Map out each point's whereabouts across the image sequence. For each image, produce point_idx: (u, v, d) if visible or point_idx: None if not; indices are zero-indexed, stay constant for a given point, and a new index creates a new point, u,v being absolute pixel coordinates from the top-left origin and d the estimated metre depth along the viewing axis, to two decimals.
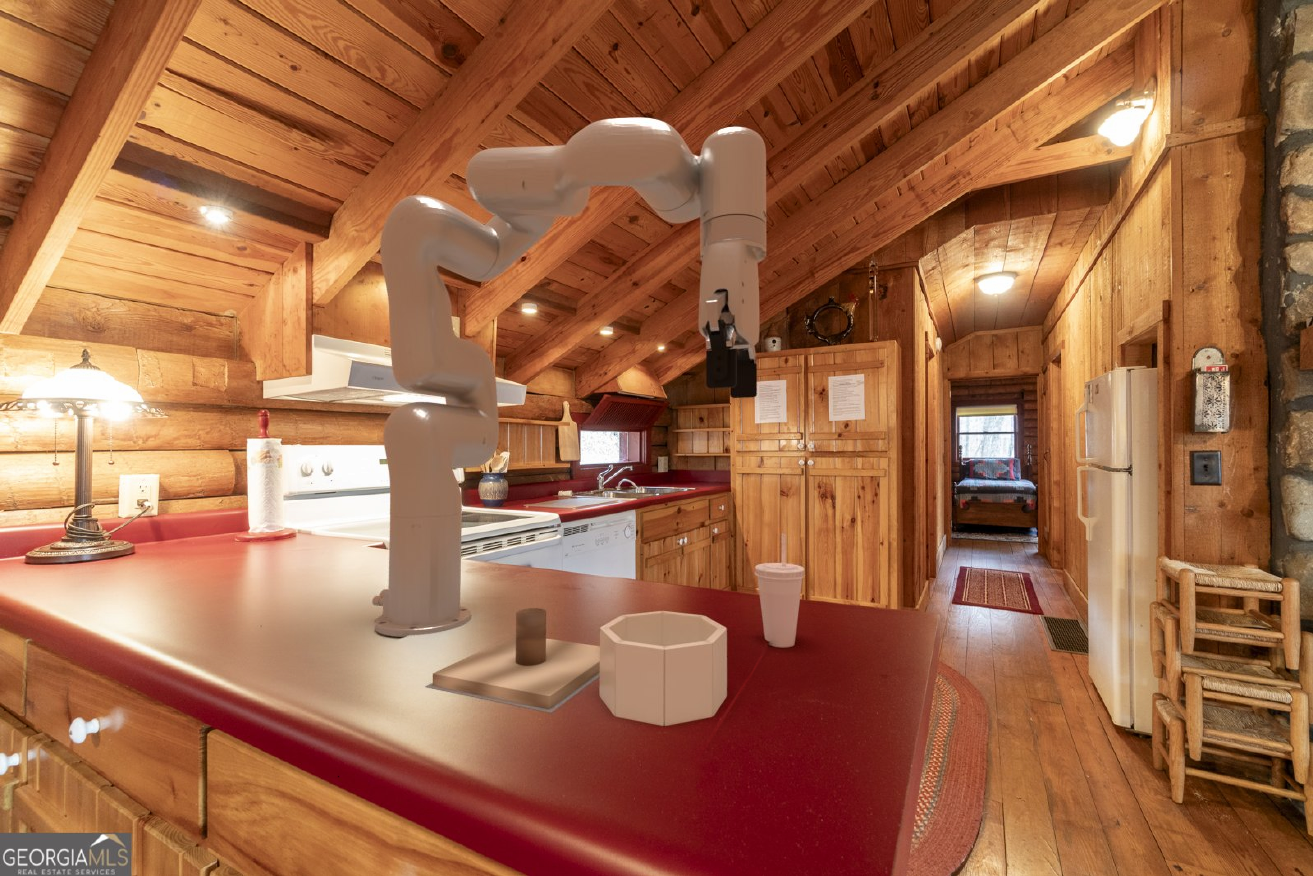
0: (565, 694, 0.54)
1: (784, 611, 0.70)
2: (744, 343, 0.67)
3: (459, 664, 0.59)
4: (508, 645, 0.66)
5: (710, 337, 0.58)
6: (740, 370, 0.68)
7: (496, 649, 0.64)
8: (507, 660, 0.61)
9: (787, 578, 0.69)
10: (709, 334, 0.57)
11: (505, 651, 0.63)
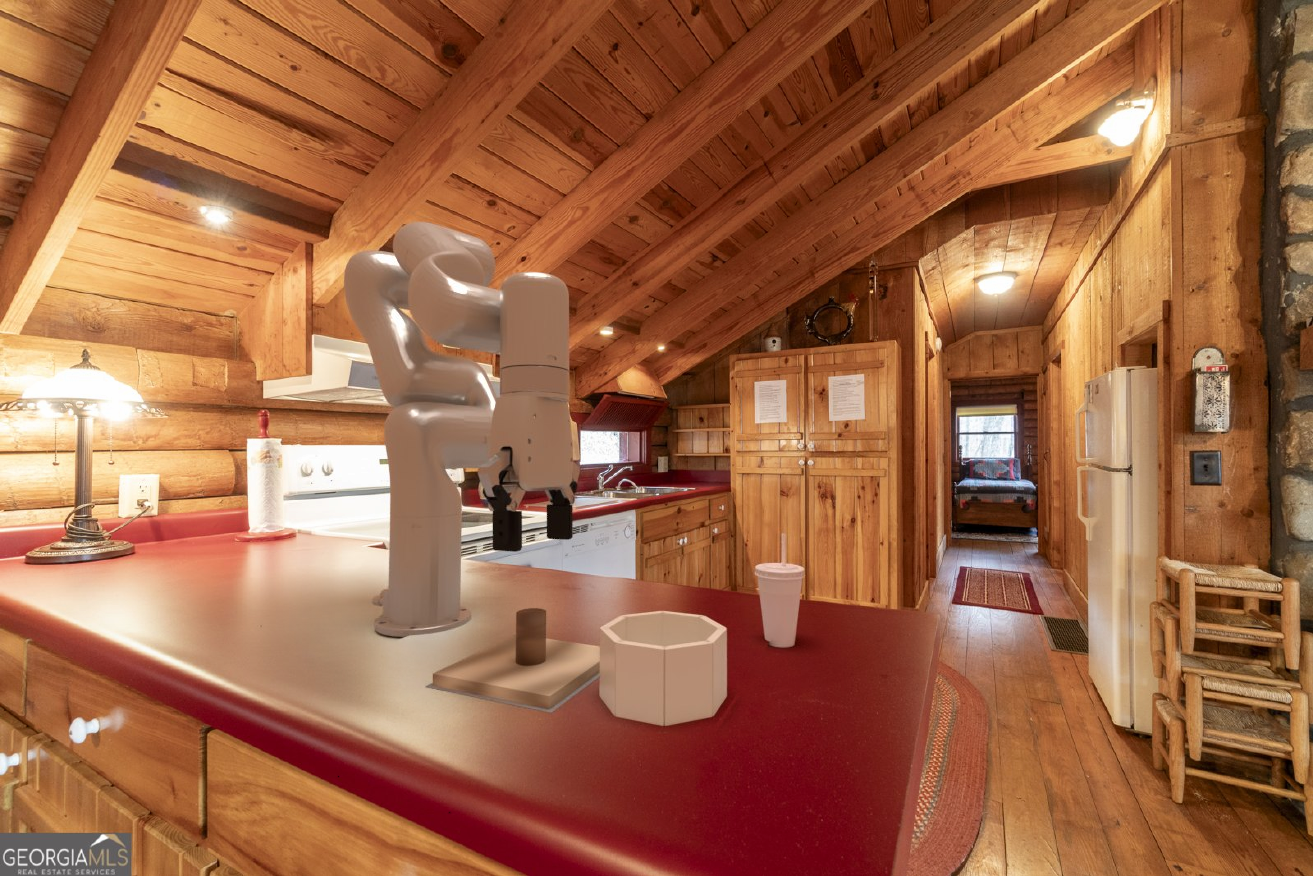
0: (565, 694, 0.54)
1: (784, 611, 0.70)
2: None
3: (459, 664, 0.59)
4: (508, 645, 0.66)
5: (489, 501, 0.55)
6: (555, 511, 0.65)
7: (496, 649, 0.64)
8: (507, 660, 0.61)
9: (787, 578, 0.69)
10: (487, 499, 0.55)
11: (505, 651, 0.63)
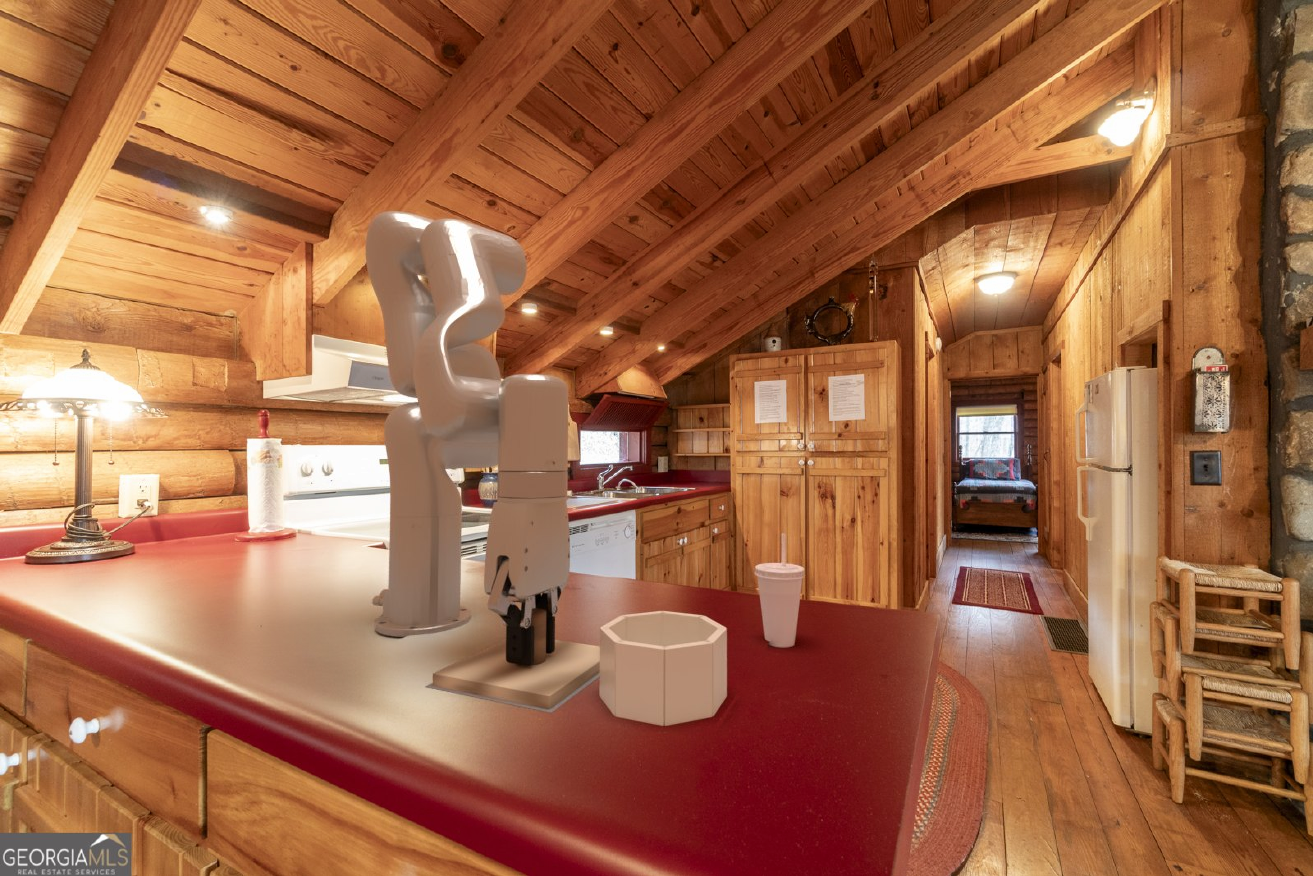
0: (565, 694, 0.54)
1: (784, 611, 0.70)
2: None
3: (459, 664, 0.59)
4: None
5: (504, 619, 0.57)
6: None
7: (496, 649, 0.64)
8: None
9: (787, 578, 0.69)
10: (502, 617, 0.57)
11: (505, 651, 0.63)
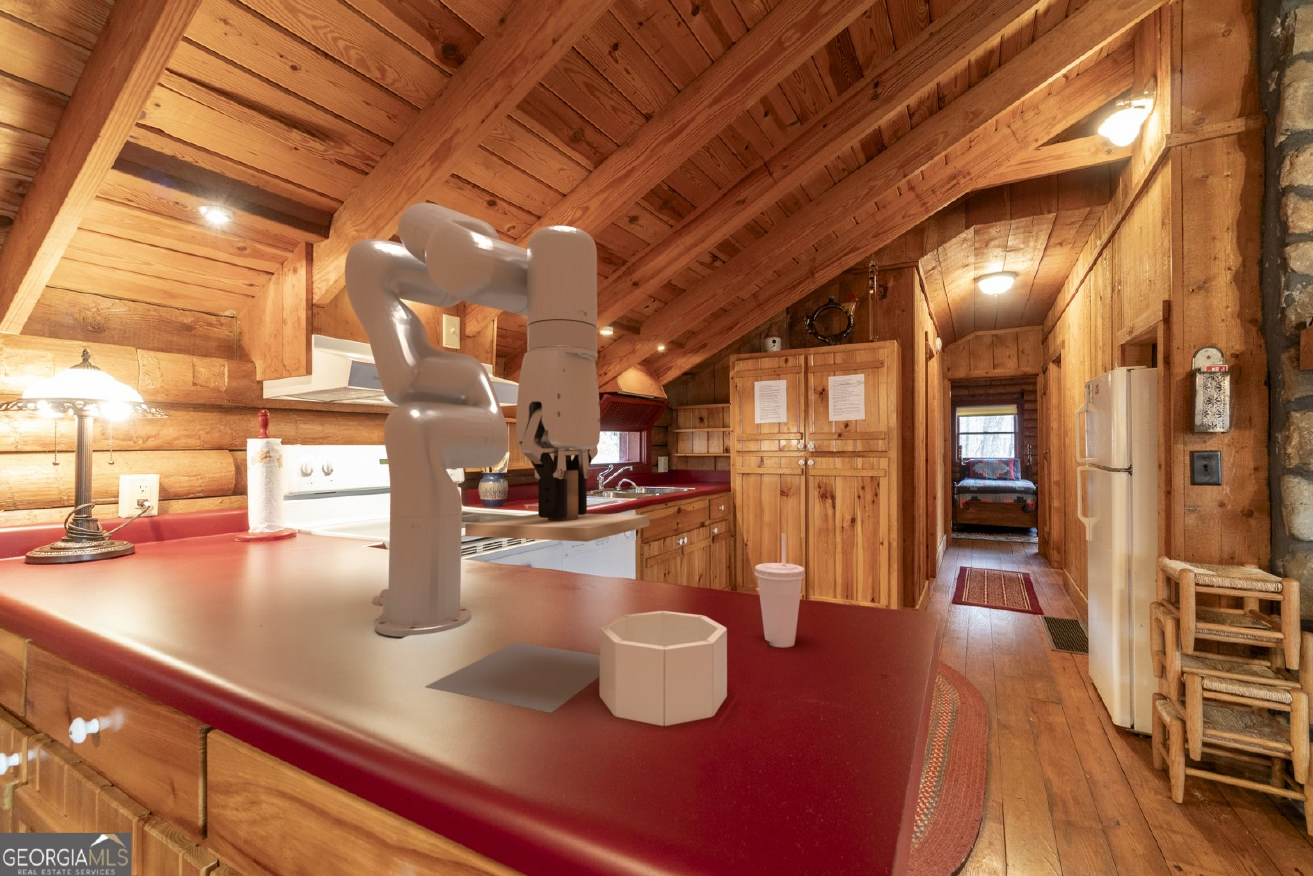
0: (602, 534, 0.53)
1: (784, 611, 0.70)
2: (576, 449, 0.62)
3: (491, 521, 0.58)
4: (538, 515, 0.64)
5: (536, 469, 0.56)
6: None
7: None
8: (539, 519, 0.59)
9: (787, 578, 0.69)
10: (535, 467, 0.56)
11: (536, 517, 0.62)
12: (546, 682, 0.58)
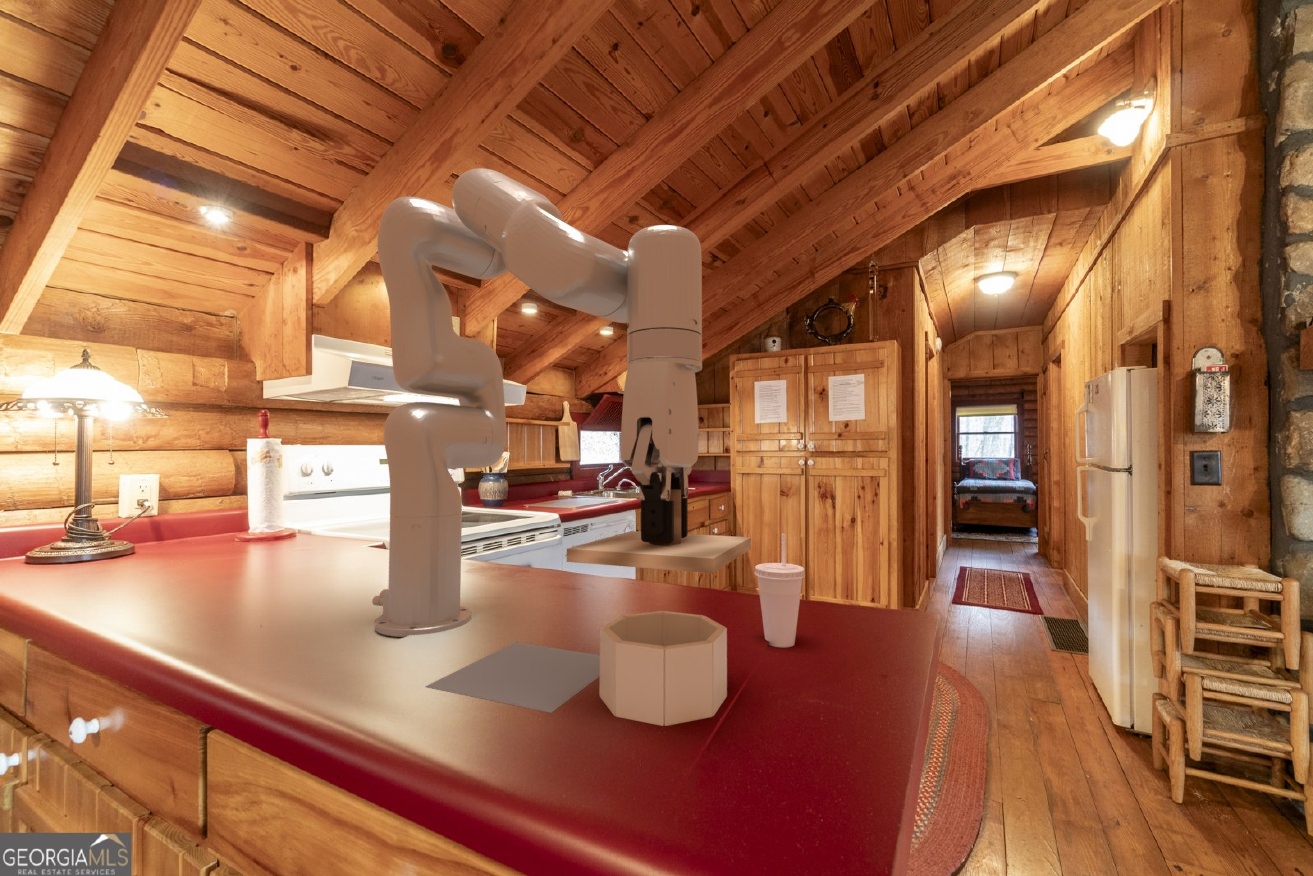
0: (722, 563, 0.49)
1: (784, 611, 0.70)
2: (675, 467, 0.57)
3: (589, 544, 0.54)
4: (629, 536, 0.60)
5: (643, 490, 0.52)
6: None
7: (619, 537, 0.59)
8: (639, 542, 0.55)
9: (787, 578, 0.69)
10: (641, 488, 0.52)
11: (630, 538, 0.58)
12: (546, 682, 0.58)
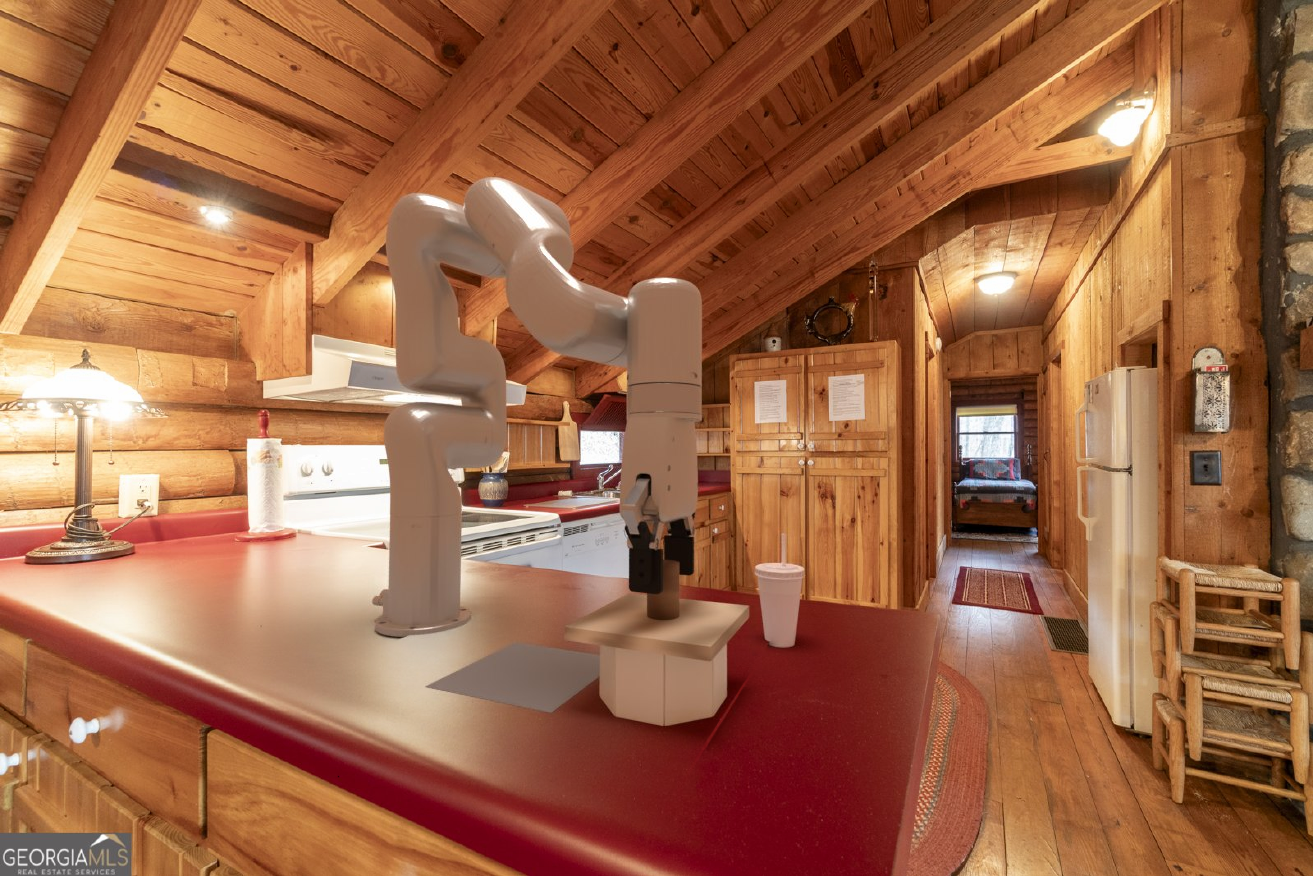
0: (719, 647, 0.48)
1: (784, 611, 0.70)
2: None
3: (587, 619, 0.54)
4: (627, 602, 0.60)
5: (630, 539, 0.50)
6: (675, 543, 0.59)
7: (617, 605, 0.59)
8: (637, 615, 0.55)
9: (787, 578, 0.69)
10: (629, 537, 0.49)
11: (628, 608, 0.58)
12: (546, 682, 0.58)
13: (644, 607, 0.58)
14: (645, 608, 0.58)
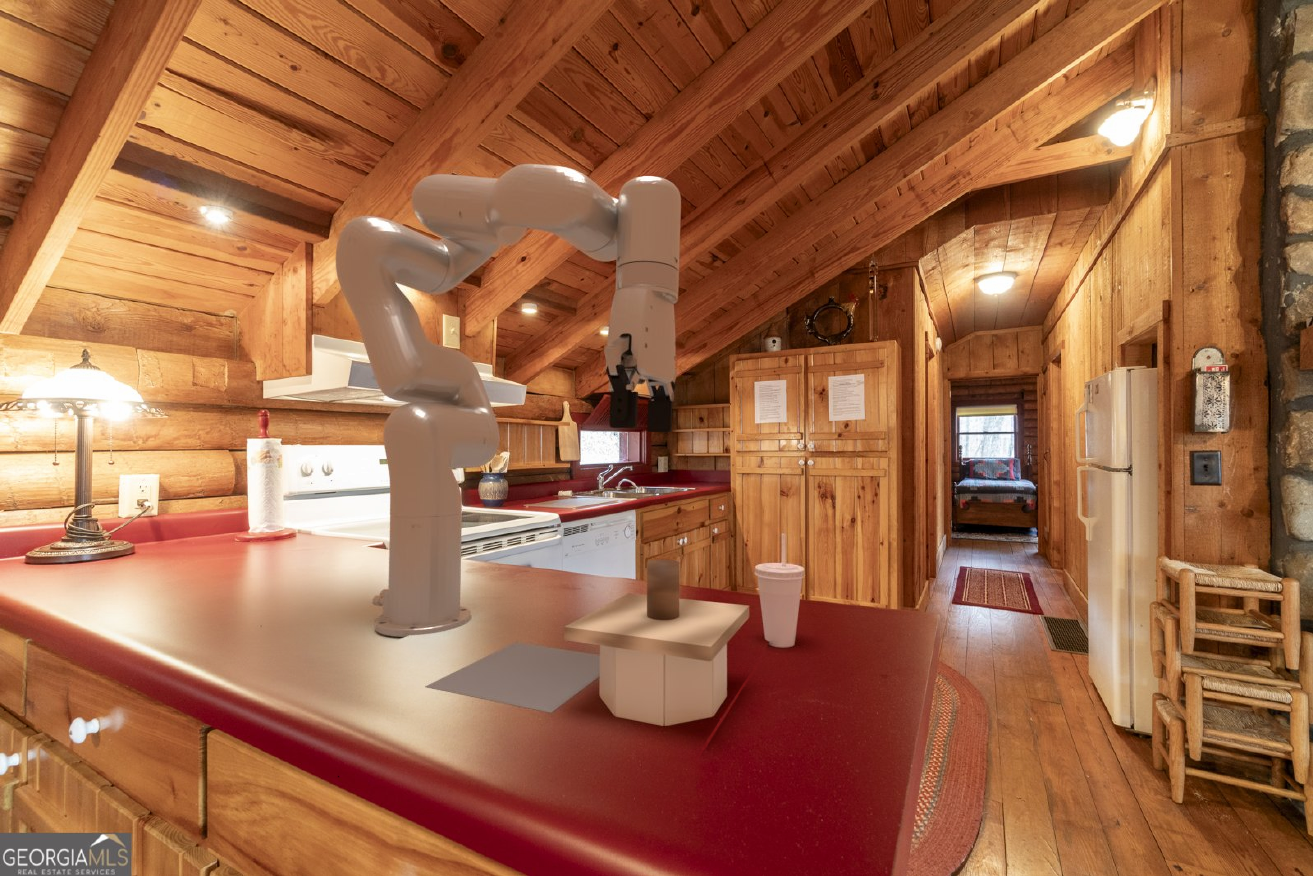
0: (719, 647, 0.48)
1: (784, 611, 0.70)
2: None
3: (587, 619, 0.54)
4: (627, 602, 0.60)
5: (611, 380, 0.61)
6: (656, 406, 0.71)
7: (617, 605, 0.59)
8: (637, 615, 0.55)
9: (787, 578, 0.69)
10: (609, 378, 0.60)
11: (628, 608, 0.58)
12: (546, 682, 0.58)
13: (644, 607, 0.58)
14: (645, 608, 0.58)
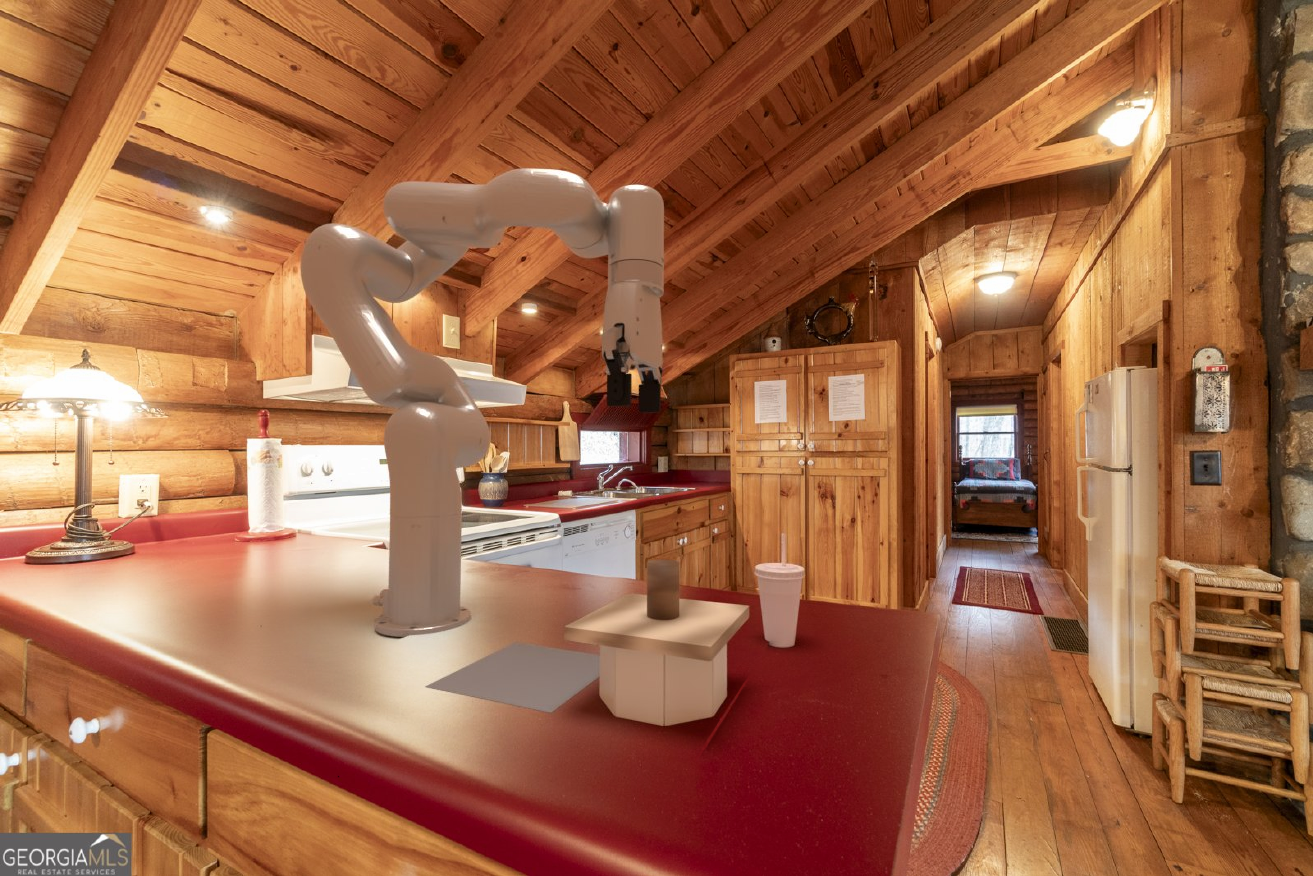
0: (719, 647, 0.48)
1: (784, 611, 0.70)
2: (649, 366, 0.78)
3: (587, 619, 0.54)
4: (627, 602, 0.60)
5: (607, 364, 0.69)
6: (646, 389, 0.79)
7: (617, 605, 0.59)
8: (637, 615, 0.55)
9: (787, 578, 0.69)
10: (606, 361, 0.69)
11: (628, 608, 0.58)
12: (546, 682, 0.58)
13: (644, 607, 0.58)
14: (645, 608, 0.58)
